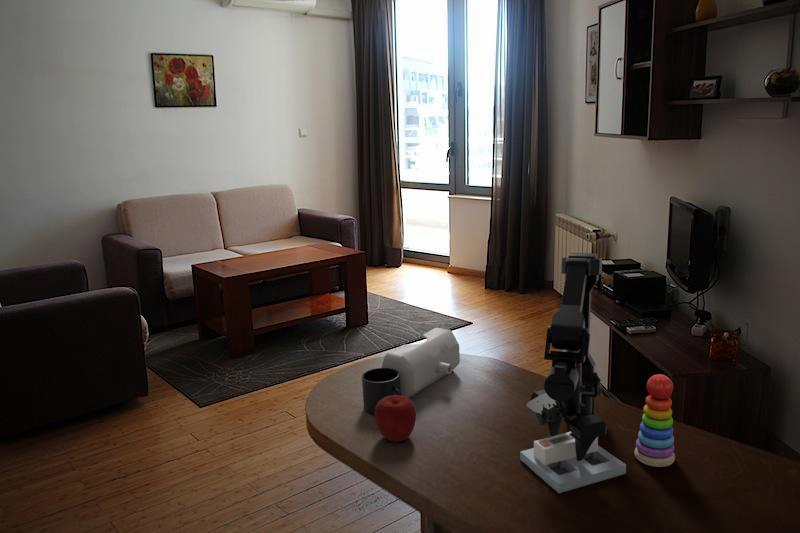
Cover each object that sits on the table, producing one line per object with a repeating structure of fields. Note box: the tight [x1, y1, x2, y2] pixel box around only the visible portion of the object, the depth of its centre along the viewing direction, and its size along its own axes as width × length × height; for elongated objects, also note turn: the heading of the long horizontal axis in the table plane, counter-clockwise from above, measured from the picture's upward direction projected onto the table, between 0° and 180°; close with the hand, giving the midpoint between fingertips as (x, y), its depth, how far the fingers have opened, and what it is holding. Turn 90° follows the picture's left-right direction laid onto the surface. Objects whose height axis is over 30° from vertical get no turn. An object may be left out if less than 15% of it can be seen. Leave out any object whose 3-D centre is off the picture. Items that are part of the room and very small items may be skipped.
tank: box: [380, 327, 461, 399], centre depth 183 cm, size 25×16×12 cm, turn 143°
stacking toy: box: [633, 373, 676, 468], centre depth 139 cm, size 8×8×19 cm
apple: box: [374, 395, 417, 443], centre depth 155 cm, size 10×10×10 cm
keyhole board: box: [519, 444, 627, 494], centre depth 140 cm, size 16×14×2 cm
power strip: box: [533, 431, 599, 468], centre depth 141 cm, size 13×4×5 cm, turn 111°
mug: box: [361, 367, 401, 416], centre depth 169 cm, size 9×12×9 cm
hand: (566, 450), depth 141 cm, fingers open, 9 cm apart
